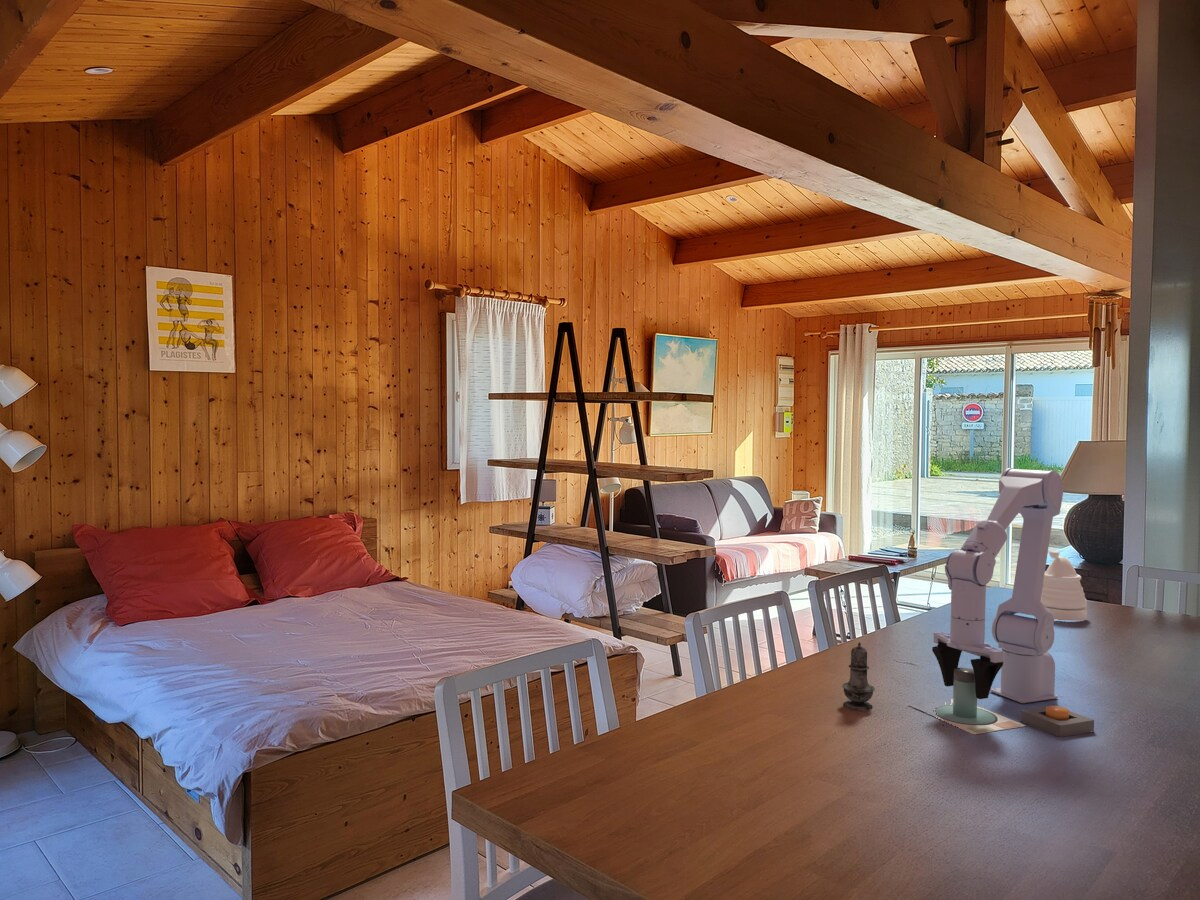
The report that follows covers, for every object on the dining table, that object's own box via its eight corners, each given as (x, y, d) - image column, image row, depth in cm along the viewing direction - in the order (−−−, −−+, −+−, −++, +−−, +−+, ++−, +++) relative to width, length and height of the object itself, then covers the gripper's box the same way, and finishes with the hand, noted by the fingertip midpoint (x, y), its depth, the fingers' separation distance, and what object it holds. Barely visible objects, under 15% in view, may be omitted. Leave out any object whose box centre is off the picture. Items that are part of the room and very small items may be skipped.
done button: (1055, 713, 155) (1056, 704, 155) (1073, 720, 152) (1074, 711, 152) (1040, 715, 154) (1041, 706, 154) (1058, 722, 150) (1058, 713, 150)
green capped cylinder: (964, 709, 160) (965, 666, 160) (981, 716, 157) (982, 672, 156) (947, 712, 159) (948, 668, 159) (964, 719, 155) (965, 674, 155)
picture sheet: (957, 698, 167) (957, 697, 167) (1026, 726, 153) (1026, 725, 153) (907, 705, 163) (907, 704, 163) (973, 734, 148) (973, 733, 148)
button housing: (1054, 716, 158) (1054, 705, 158) (1093, 731, 150) (1094, 719, 150) (1021, 721, 155) (1021, 710, 155) (1059, 737, 147) (1060, 725, 147)
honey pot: (1042, 621, 234) (1044, 554, 233) (1027, 611, 246) (1029, 547, 246) (1094, 623, 232) (1096, 556, 231) (1076, 613, 244) (1078, 549, 244)
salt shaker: (876, 712, 159) (877, 647, 158) (842, 709, 160) (844, 645, 160) (872, 702, 165) (874, 639, 164) (840, 699, 166) (841, 637, 165)
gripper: (921, 610, 162) (919, 682, 163) (982, 628, 149) (980, 706, 149) (950, 607, 165) (949, 678, 166) (1013, 624, 152) (1010, 702, 152)
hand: (965, 691), depth 158 cm, fingers open, 7 cm apart
